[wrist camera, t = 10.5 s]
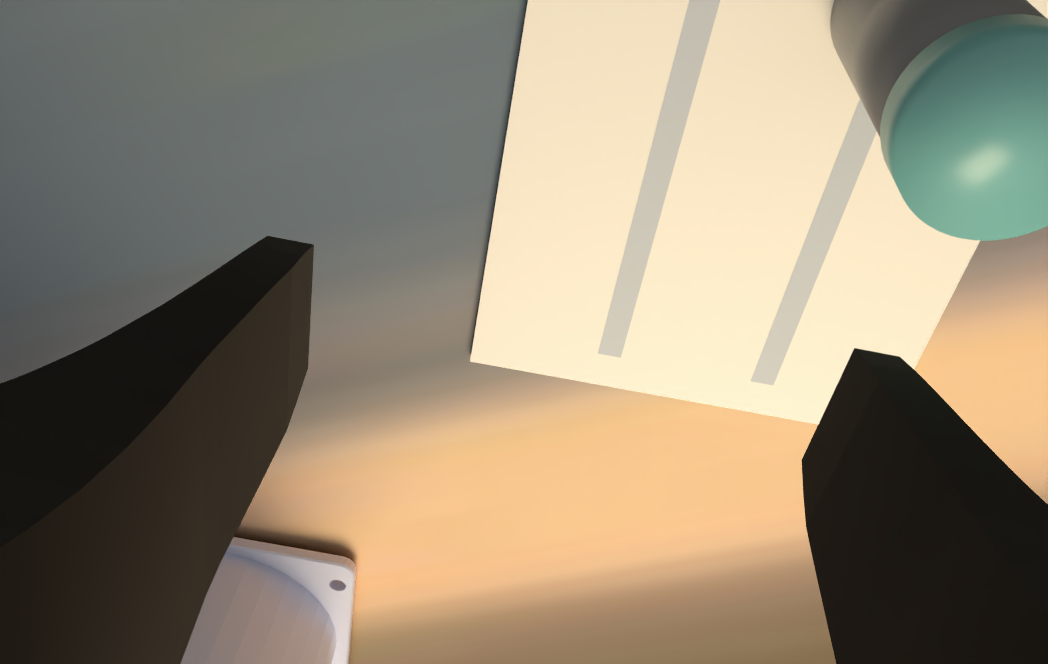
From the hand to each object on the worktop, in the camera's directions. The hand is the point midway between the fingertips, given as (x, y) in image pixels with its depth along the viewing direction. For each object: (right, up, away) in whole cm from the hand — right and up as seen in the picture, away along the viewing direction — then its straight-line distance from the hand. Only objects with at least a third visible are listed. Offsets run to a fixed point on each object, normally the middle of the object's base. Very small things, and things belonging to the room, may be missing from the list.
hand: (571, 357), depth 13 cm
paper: (+4, +4, +9) cm, 11 cm away
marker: (+7, +7, +6) cm, 11 cm away
